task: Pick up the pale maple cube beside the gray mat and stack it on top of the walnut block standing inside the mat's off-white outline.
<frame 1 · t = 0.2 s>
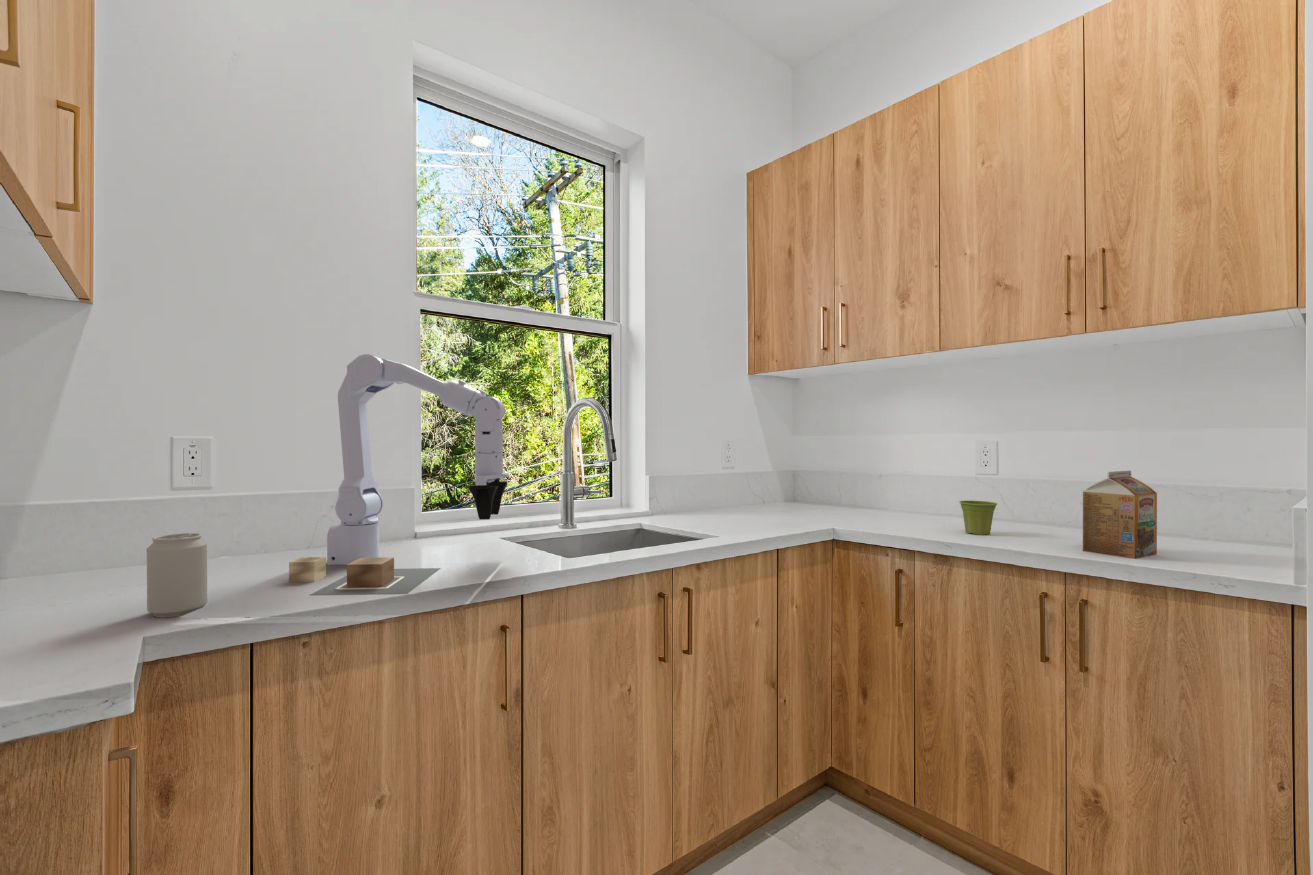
hand: (489, 516, 134), 10 cm above the table, tool pointing down, fingers open, 7 cm apart
walnut block: (371, 582, 113), point 1 cm above the table, touching gray mat
plant pot: (977, 534, 174), on the table
milk carton: (1119, 553, 146), on the table
maple cube: (307, 583, 117), on the table
gray mat: (381, 584, 115), on the table
can: (178, 613, 98), on the table
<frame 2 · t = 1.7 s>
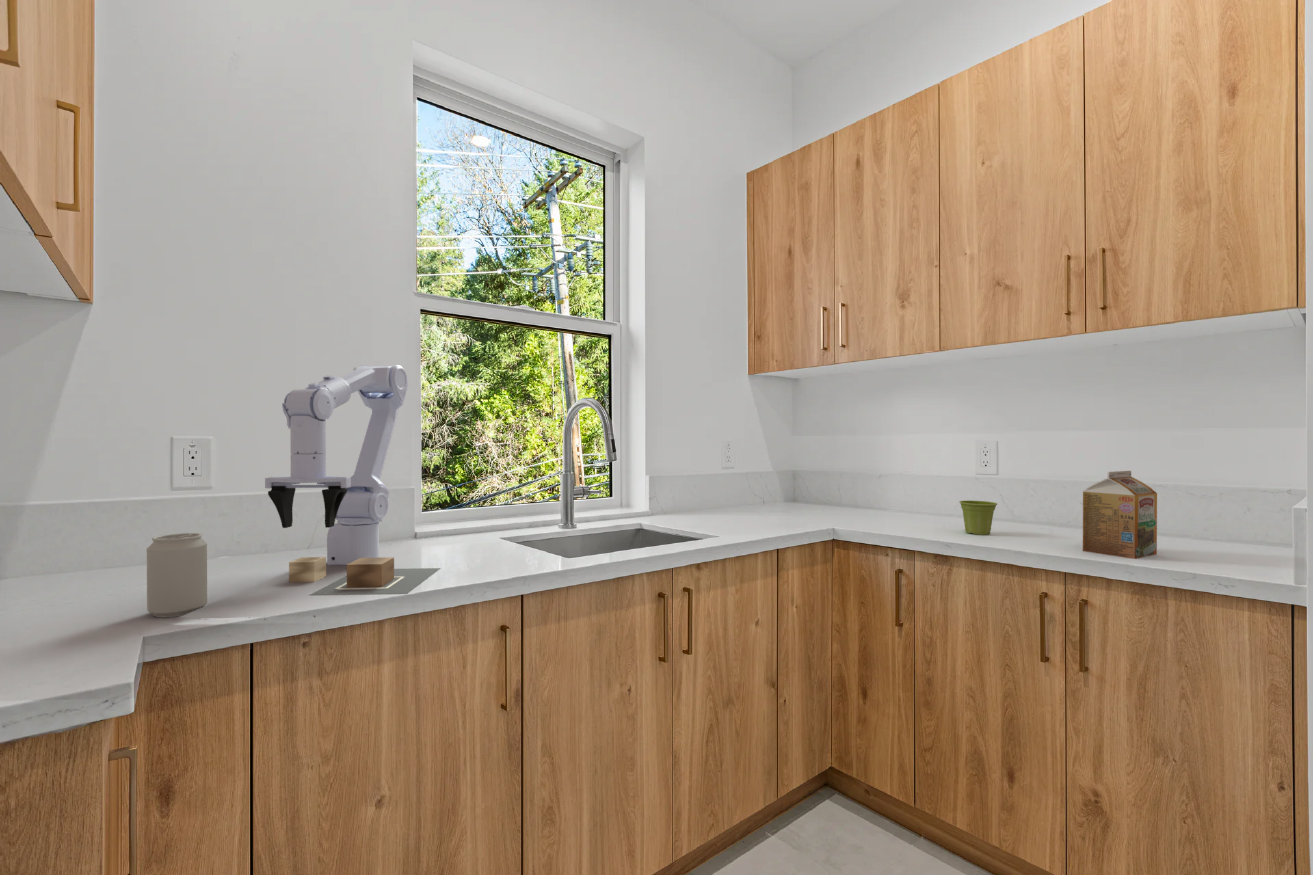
hand: (308, 527, 117), 10 cm above the table, tool pointing down, fingers open, 7 cm apart
nothing on the table moved.
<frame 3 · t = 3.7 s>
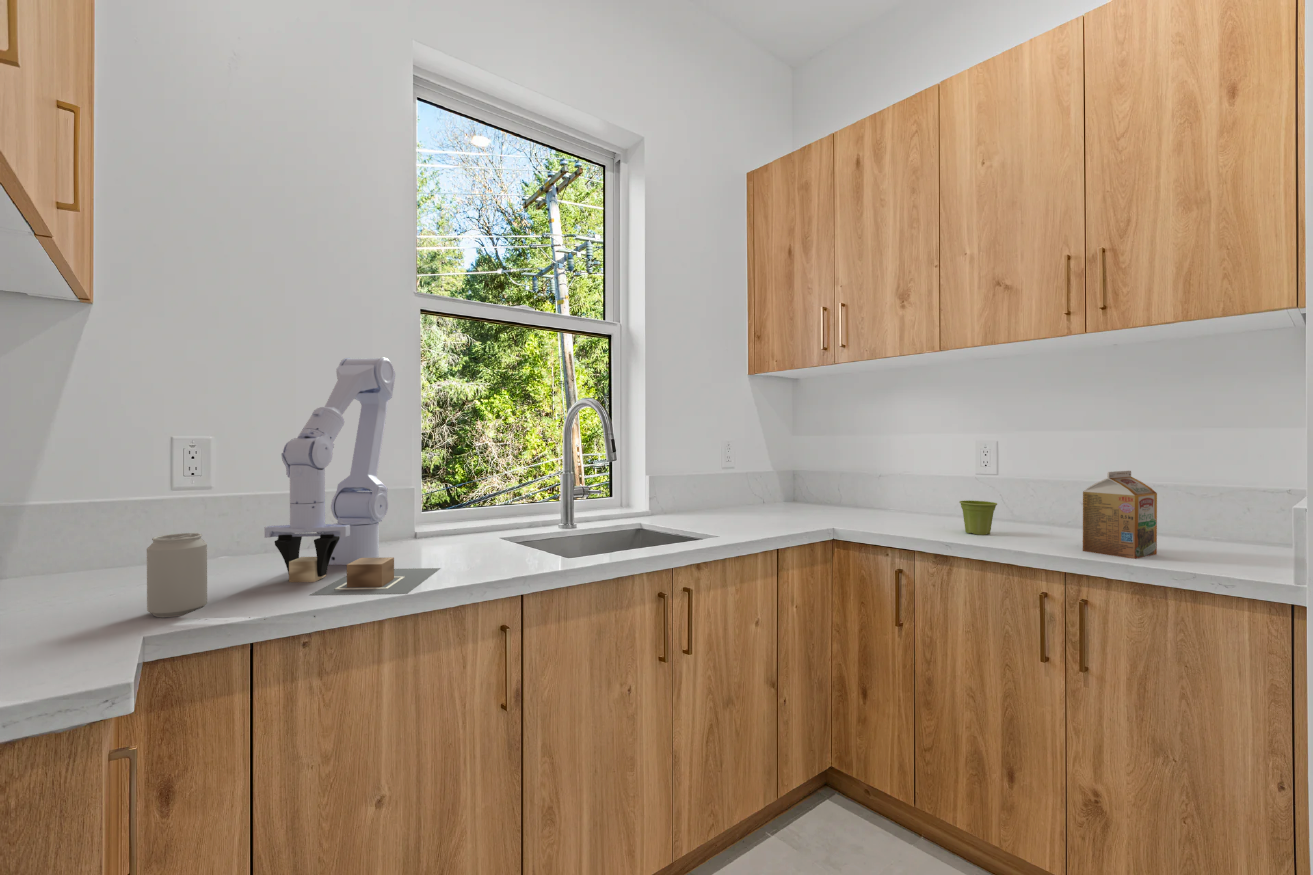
hand: (307, 575, 117), 1 cm above the table, tool pointing down, fingers closed on maple cube, 4 cm apart
maple cube: (307, 583, 117), on the table, touching gripper
everything else where it was.
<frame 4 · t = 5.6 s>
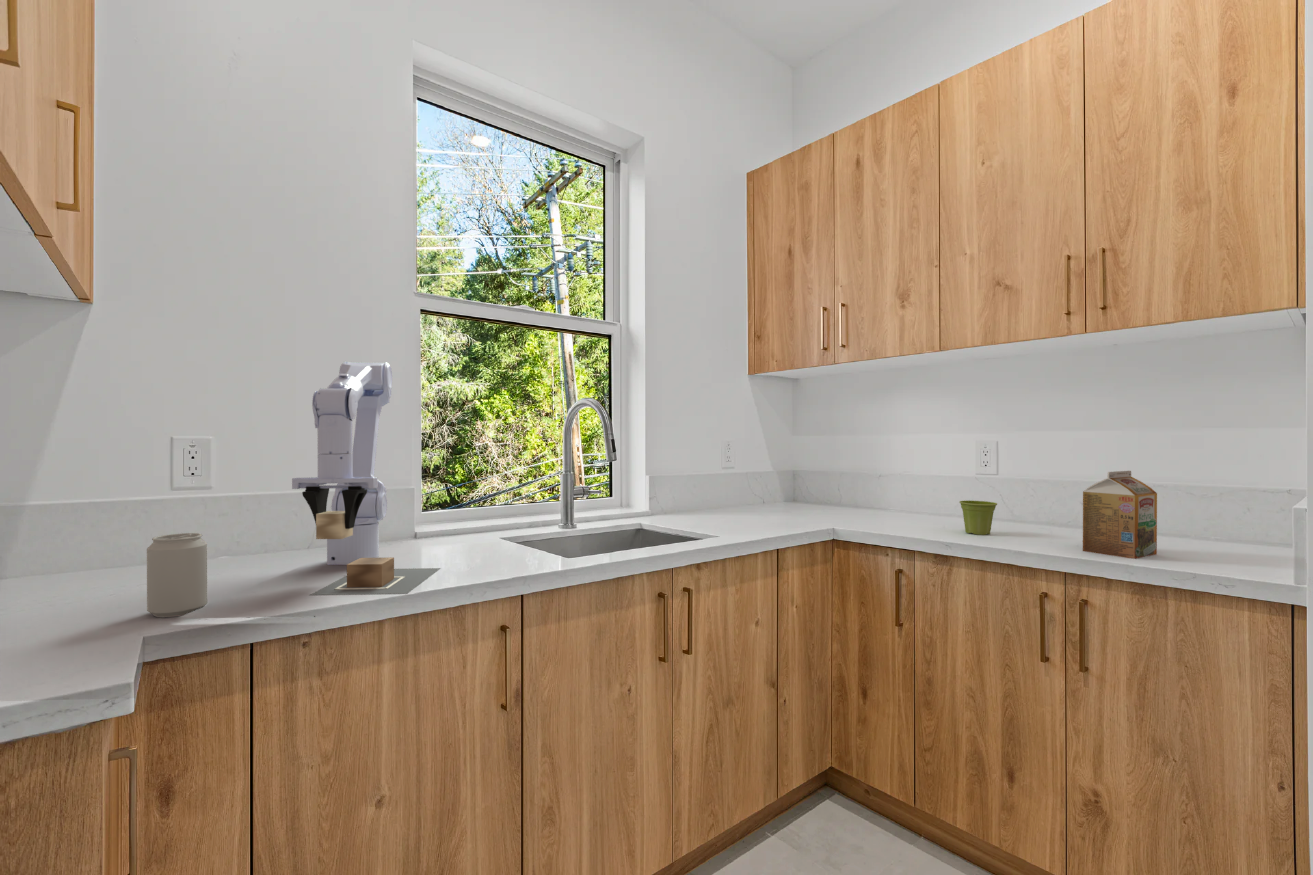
hand: (335, 528, 115), 10 cm above the table, tool pointing down, fingers closed on maple cube, 4 cm apart
maple cube: (334, 537, 115), point 9 cm above the table, touching gripper
everything else where it was.
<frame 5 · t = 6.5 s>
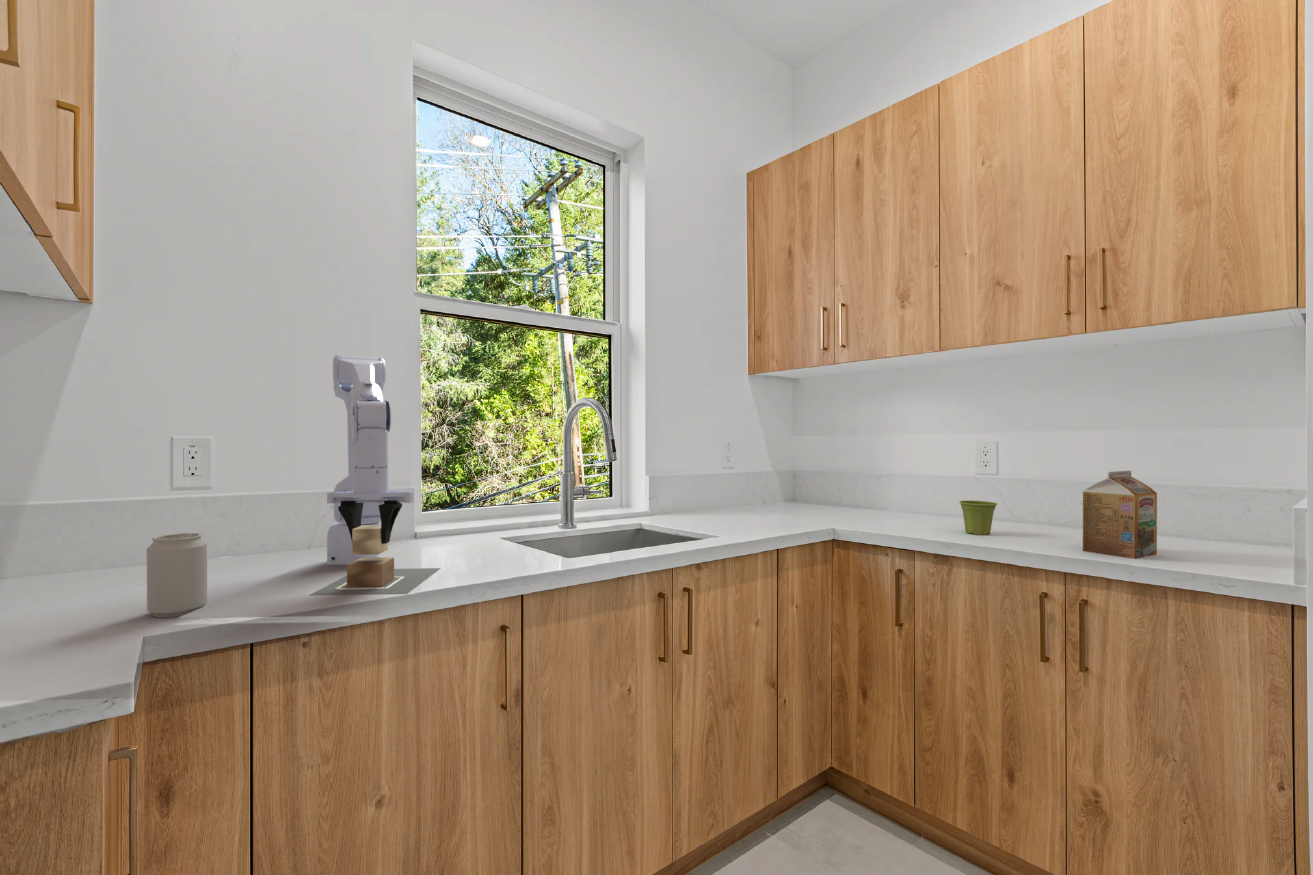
hand: (371, 542, 113), 8 cm above the table, tool pointing down, fingers closed on maple cube, 4 cm apart
maple cube: (370, 552, 113), point 6 cm above the table, touching gripper
everything else where it was.
when the fingers open (7 cm above the table, at t = 7.5 s): maple cube stays where it is, resting on walnut block.
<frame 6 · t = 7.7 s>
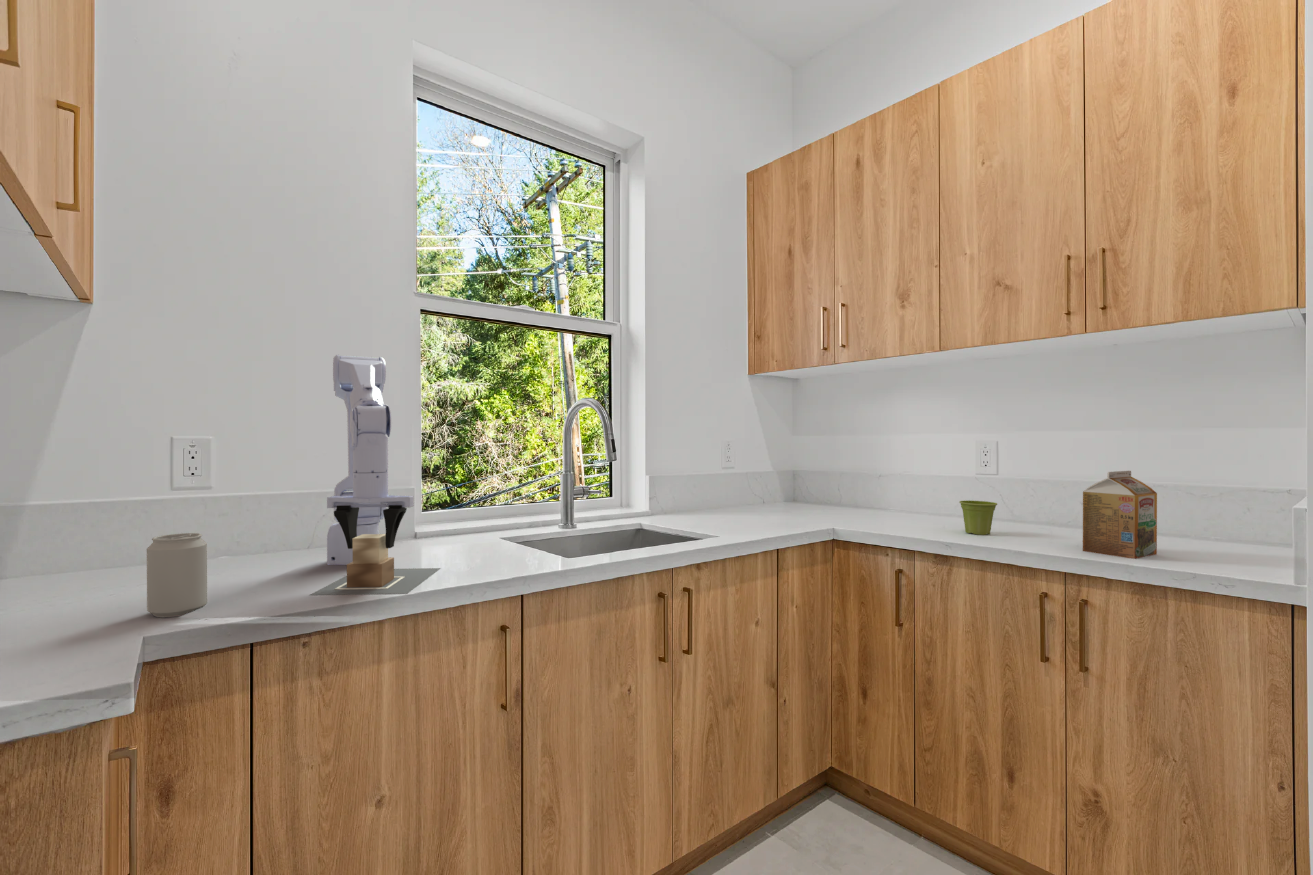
hand: (371, 547, 113), 7 cm above the table, tool pointing down, fingers open, 6 cm apart
walnut block: (371, 582, 113), point 1 cm above the table, touching gray mat, maple cube
maple cube: (370, 561, 113), point 5 cm above the table, touching walnut block
everything else where it was.
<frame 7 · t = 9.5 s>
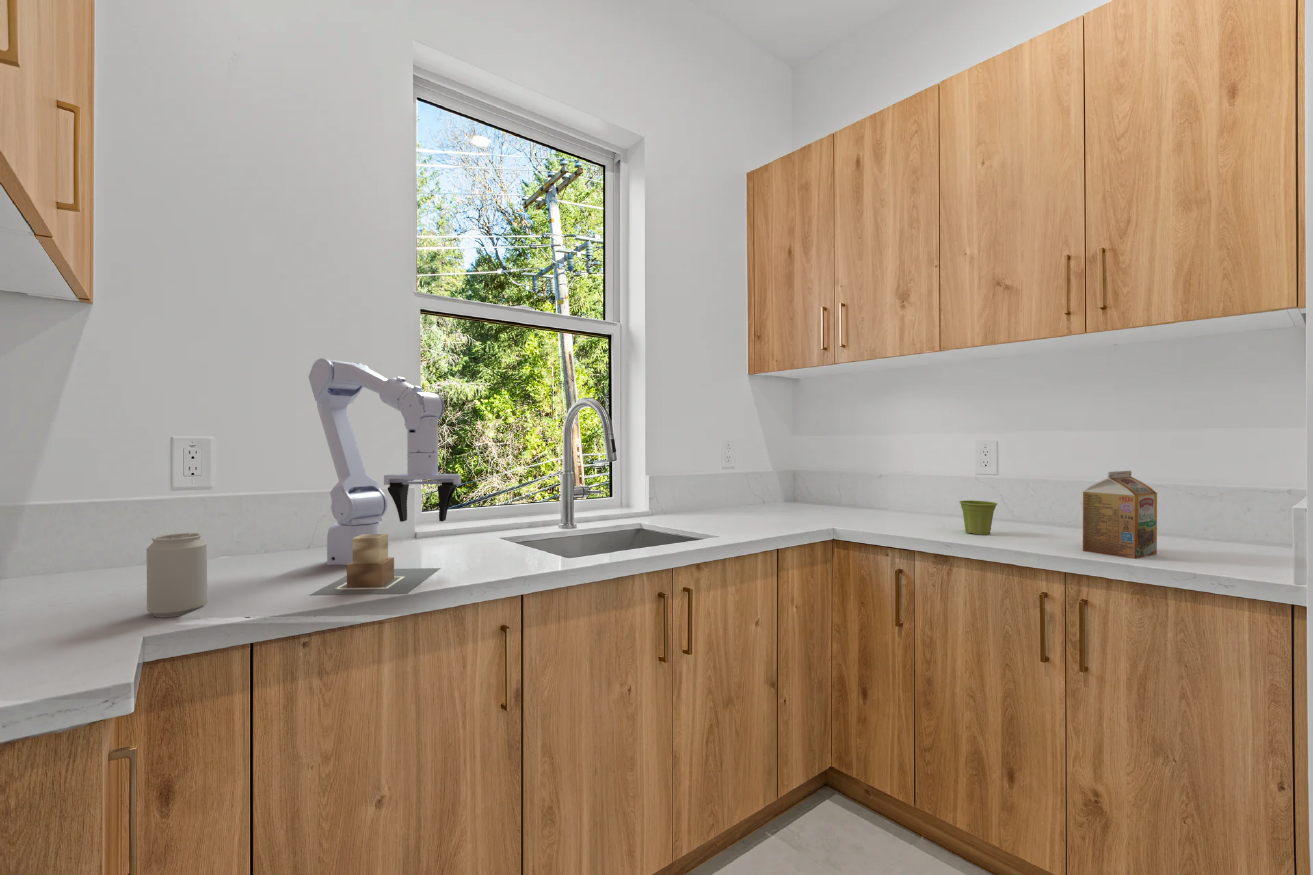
hand: (422, 520, 125), 10 cm above the table, tool pointing down, fingers open, 7 cm apart
nothing on the table moved.
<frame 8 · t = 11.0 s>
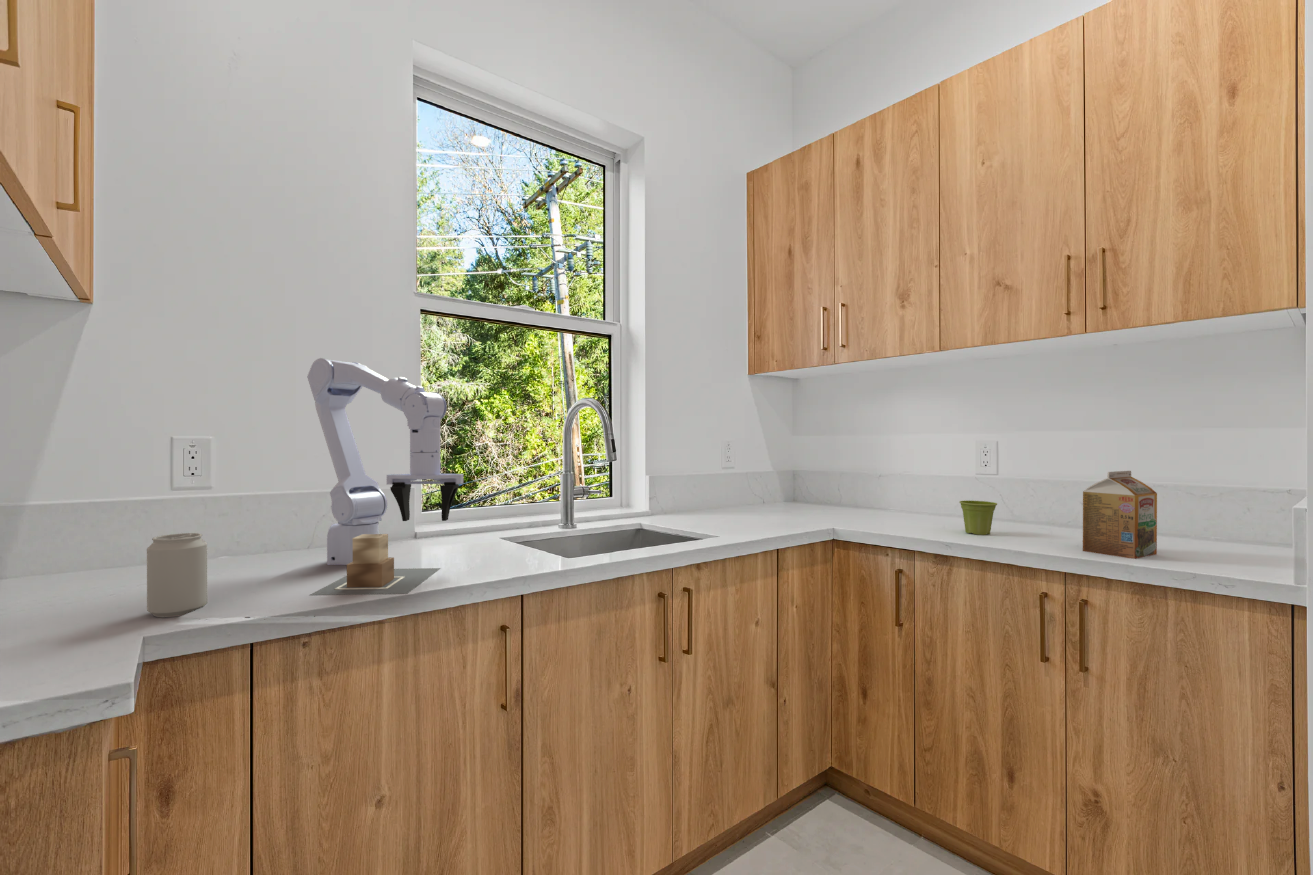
hand: (425, 520, 126), 10 cm above the table, tool pointing down, fingers open, 7 cm apart
nothing on the table moved.
at the end: maple cube 0.2 cm off-centre on the walnut block, point 4.0 cm above the walnut block's base; maple cube tilted 0°; the gripper is holding nothing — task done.
